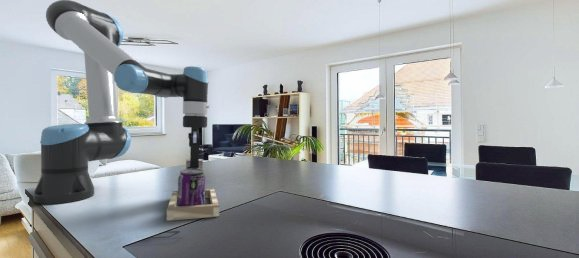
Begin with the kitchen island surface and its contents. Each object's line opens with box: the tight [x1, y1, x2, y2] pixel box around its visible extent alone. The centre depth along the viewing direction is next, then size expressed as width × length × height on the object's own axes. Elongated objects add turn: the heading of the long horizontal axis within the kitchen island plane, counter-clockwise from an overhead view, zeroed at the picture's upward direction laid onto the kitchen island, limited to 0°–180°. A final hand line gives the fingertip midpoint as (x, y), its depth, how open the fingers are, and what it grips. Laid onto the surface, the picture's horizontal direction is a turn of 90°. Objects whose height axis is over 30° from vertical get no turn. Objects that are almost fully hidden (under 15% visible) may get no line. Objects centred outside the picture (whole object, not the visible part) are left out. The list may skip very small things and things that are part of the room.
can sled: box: [166, 158, 220, 222], centre depth 82 cm, size 21×13×12 cm, turn 19°
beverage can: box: [177, 168, 206, 207], centre depth 77 cm, size 7×7×12 cm
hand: (194, 186), depth 90 cm, fingers closed on can sled, 3 cm apart
